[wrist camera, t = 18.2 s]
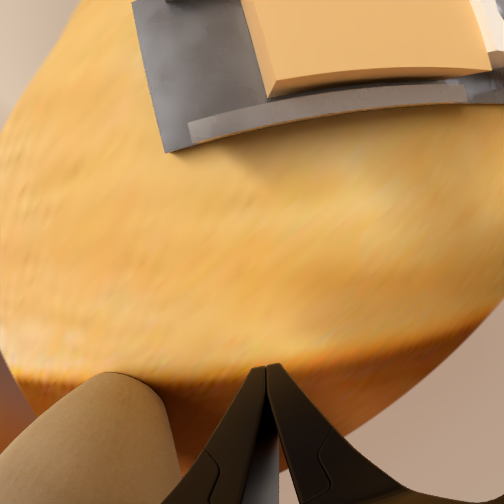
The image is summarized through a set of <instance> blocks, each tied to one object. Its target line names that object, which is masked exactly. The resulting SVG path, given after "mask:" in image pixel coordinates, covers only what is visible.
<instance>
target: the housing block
mask: <svg viewBox="0 0 504 504" xmlns="http://www.w3.org/2000/svg"><path fill="white" fill-rule="evenodd" d="M469 1H470V3H471V6H472V8H473V11H474V13H475V16H476V19H477V22H478V24H479V27H480V30H481V33H482V36H483V40H484V43H485V46H486V50H487V53H488V57H489V60H490V64H491V68H492V69H494V68H500V67H504V0H469Z"/></svg>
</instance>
